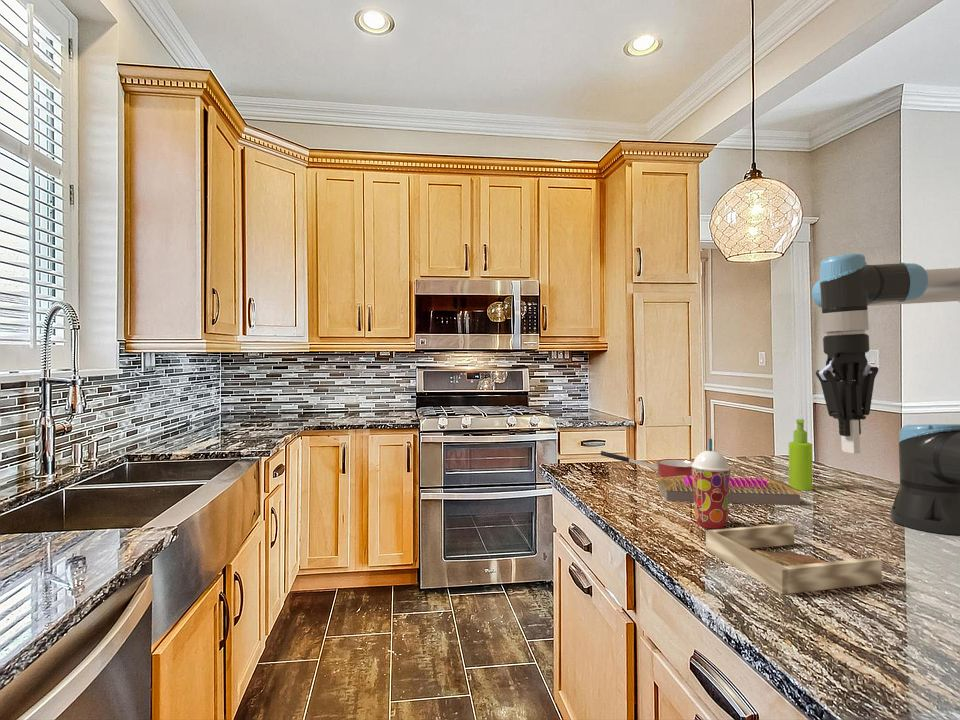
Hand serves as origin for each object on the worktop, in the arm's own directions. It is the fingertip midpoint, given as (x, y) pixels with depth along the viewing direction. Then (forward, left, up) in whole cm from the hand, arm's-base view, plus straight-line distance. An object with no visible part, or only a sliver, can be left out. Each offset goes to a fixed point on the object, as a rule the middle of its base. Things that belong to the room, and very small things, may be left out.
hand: (850, 451), depth 106 cm
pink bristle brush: (-2, -42, -21) cm, 47 cm away
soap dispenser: (-30, -46, -20) cm, 58 cm away
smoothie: (+17, -21, -20) cm, 33 cm away
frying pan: (+4, -73, -20) cm, 76 cm away
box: (+18, +3, -20) cm, 27 cm away
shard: (+17, +4, -21) cm, 27 cm away
